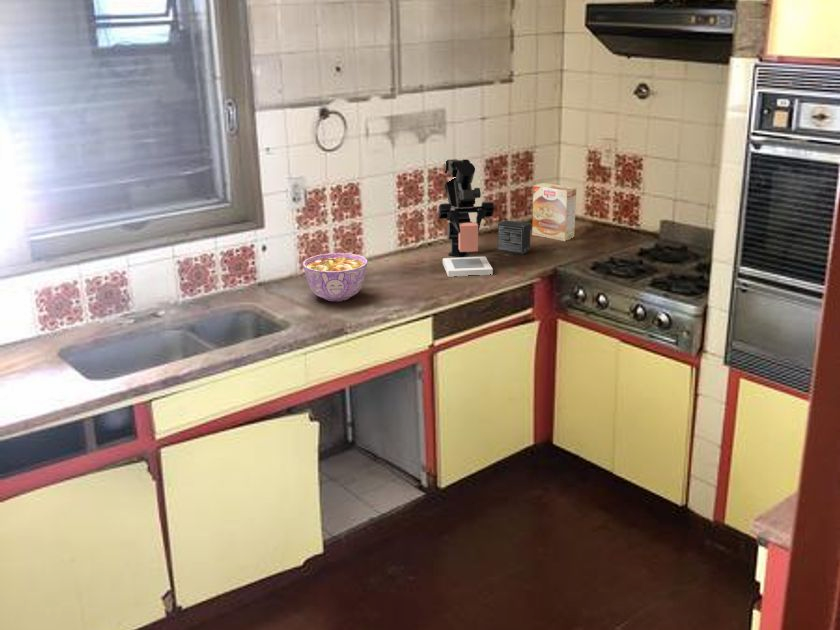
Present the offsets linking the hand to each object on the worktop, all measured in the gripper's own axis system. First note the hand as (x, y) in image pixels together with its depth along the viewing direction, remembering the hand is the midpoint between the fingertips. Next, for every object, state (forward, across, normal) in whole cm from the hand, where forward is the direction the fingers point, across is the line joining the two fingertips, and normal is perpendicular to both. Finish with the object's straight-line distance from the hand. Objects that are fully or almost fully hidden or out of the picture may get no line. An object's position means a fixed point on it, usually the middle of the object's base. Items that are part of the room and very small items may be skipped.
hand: (468, 232), depth 310 cm
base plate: (+9, 0, +10) cm, 14 cm away
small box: (-5, +20, +24) cm, 32 cm away
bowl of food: (+25, -45, -5) cm, 52 cm away
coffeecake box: (-17, +39, +36) cm, 56 cm away
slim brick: (+4, 0, +6) cm, 7 cm away
